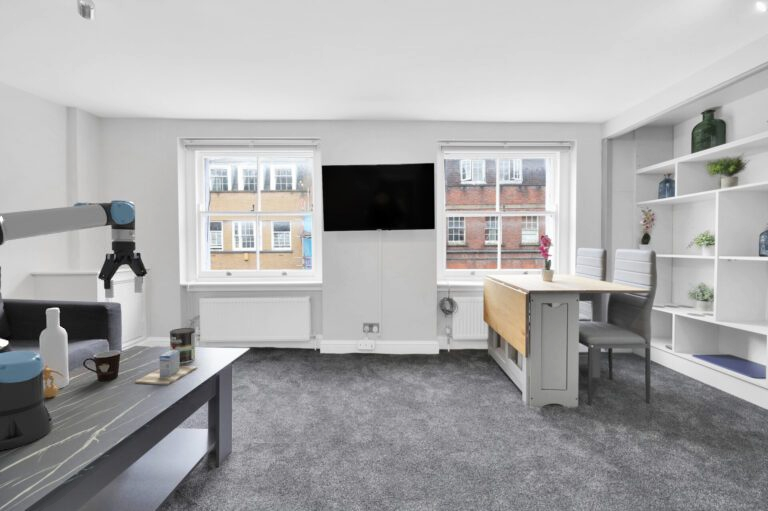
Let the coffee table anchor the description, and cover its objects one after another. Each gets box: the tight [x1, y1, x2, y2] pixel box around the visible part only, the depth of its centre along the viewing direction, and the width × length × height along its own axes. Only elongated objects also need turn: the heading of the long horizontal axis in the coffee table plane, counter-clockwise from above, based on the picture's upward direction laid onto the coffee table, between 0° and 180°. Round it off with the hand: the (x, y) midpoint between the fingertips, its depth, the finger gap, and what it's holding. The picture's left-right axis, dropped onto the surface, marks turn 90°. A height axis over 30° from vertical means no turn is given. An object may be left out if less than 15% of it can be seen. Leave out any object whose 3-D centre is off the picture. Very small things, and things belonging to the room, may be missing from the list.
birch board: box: [134, 365, 198, 386], centre depth 149 cm, size 18×14×1 cm
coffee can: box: [169, 327, 196, 365], centre depth 167 cm, size 10×10×14 cm
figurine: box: [43, 365, 63, 399], centre depth 126 cm, size 8×6×12 cm
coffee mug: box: [82, 350, 121, 382], centre depth 145 cm, size 12×9×10 cm
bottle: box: [39, 307, 70, 390], centre depth 136 cm, size 8×8×30 cm
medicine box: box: [158, 350, 181, 377], centre depth 148 cm, size 8×4×9 cm, turn 5°
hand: (124, 295), depth 141 cm, fingers open, 13 cm apart
